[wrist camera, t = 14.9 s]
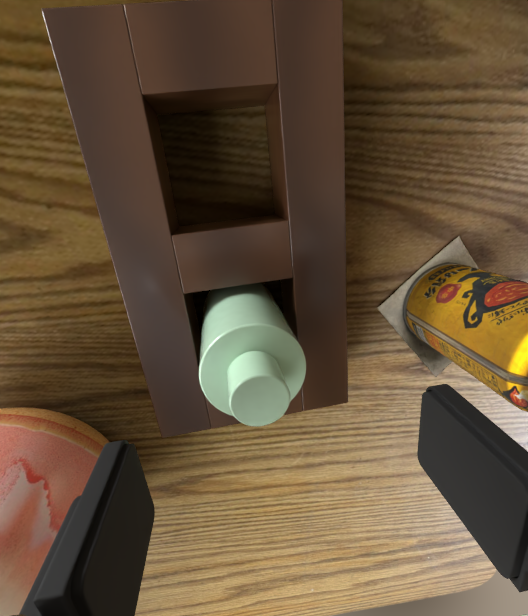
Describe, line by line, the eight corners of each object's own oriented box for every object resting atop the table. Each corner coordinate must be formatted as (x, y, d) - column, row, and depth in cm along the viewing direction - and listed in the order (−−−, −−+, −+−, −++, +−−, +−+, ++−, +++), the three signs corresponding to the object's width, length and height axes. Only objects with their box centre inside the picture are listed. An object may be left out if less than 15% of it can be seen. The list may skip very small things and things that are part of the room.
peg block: (314, 35, 17) (343, -9, 13) (327, 370, 24) (348, 403, 21) (81, 50, 16) (40, 7, 12) (170, 398, 23) (161, 438, 19)
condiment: (456, 235, 22) (705, 281, 11) (507, 314, 25) (743, 414, 14) (375, 306, 23) (527, 416, 12) (433, 375, 26) (598, 513, 15)
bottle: (271, 271, 21) (318, 336, 12) (277, 336, 23) (323, 438, 13) (197, 281, 20) (185, 357, 11) (209, 347, 22) (208, 461, 13)
